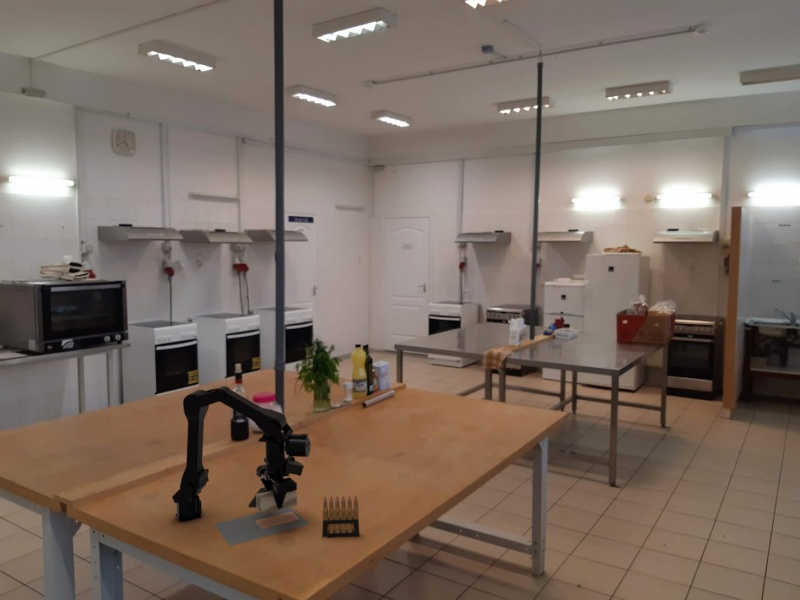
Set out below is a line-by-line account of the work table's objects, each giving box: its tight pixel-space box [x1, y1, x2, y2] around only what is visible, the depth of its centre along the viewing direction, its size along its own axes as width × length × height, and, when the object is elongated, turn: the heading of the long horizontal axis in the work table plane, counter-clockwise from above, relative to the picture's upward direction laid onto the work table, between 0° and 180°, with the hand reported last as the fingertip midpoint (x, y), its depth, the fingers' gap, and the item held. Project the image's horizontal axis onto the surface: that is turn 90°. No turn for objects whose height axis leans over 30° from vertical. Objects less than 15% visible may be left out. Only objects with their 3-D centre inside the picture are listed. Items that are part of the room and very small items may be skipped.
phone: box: [248, 487, 266, 508], centre depth 202 cm, size 8×1×15 cm
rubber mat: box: [213, 507, 310, 547], centre depth 182 cm, size 24×16×1 cm, turn 123°
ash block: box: [255, 490, 298, 515], centre depth 185 cm, size 5×11×4 cm, turn 123°
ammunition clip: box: [321, 494, 360, 539], centre depth 175 cm, size 11×2×12 cm, turn 93°
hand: (276, 505), depth 185 cm, fingers closed on ash block, 5 cm apart
